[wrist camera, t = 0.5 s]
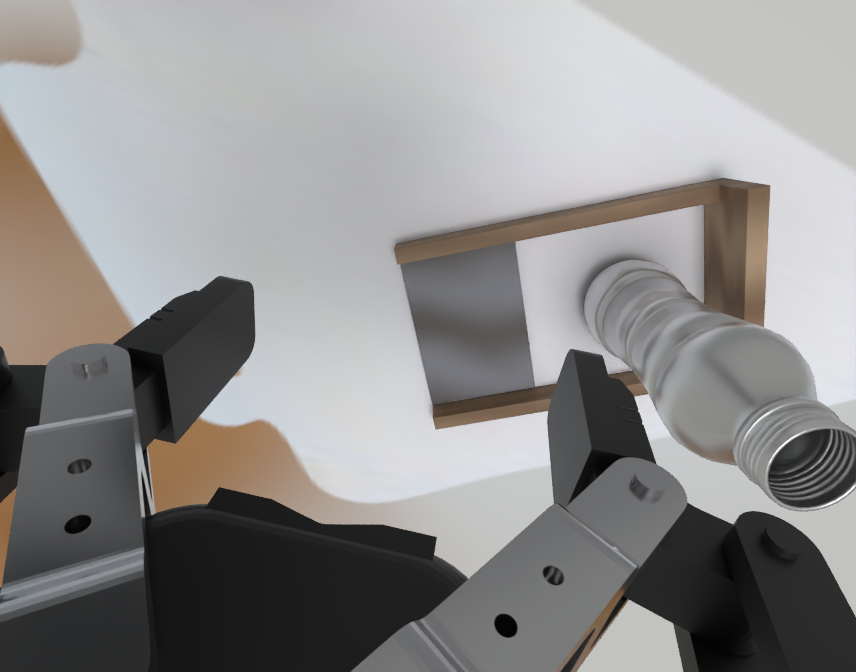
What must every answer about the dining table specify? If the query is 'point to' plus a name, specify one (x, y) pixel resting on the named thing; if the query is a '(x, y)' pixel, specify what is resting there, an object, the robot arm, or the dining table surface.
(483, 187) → the dining table surface
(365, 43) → the dining table surface
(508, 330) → the wooden tray frame
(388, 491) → the dining table surface
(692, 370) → the plastic bottle
